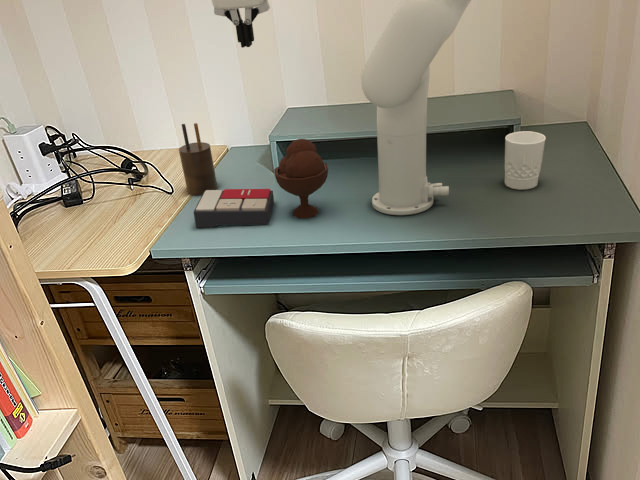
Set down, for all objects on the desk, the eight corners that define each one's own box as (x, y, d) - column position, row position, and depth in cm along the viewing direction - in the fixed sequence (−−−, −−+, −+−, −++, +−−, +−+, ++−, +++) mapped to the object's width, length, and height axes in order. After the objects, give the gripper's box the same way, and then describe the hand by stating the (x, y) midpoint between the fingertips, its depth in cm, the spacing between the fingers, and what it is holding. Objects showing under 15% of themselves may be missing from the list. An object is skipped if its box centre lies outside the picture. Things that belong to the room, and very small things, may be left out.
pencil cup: (220, 183, 152) (209, 117, 143) (213, 194, 146) (200, 126, 137) (192, 184, 153) (178, 118, 144) (183, 196, 147) (169, 128, 138)
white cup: (526, 194, 132) (530, 146, 126) (494, 185, 137) (497, 139, 132) (548, 182, 136) (553, 135, 130) (516, 174, 141) (520, 128, 136)
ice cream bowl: (271, 210, 136) (262, 140, 128) (320, 198, 139) (314, 129, 131) (289, 228, 128) (280, 155, 119) (340, 215, 131) (335, 143, 123)
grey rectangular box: (266, 207, 128) (192, 208, 129) (268, 227, 130) (195, 227, 131) (273, 186, 137) (203, 187, 138) (274, 205, 139) (206, 205, 140)
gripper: (186, -57, 114) (205, 52, 125) (268, -65, 112) (281, 47, 123) (197, -60, 121) (214, 44, 131) (275, -67, 119) (286, 39, 129)
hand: (246, 45), depth 127 cm, fingers closed
